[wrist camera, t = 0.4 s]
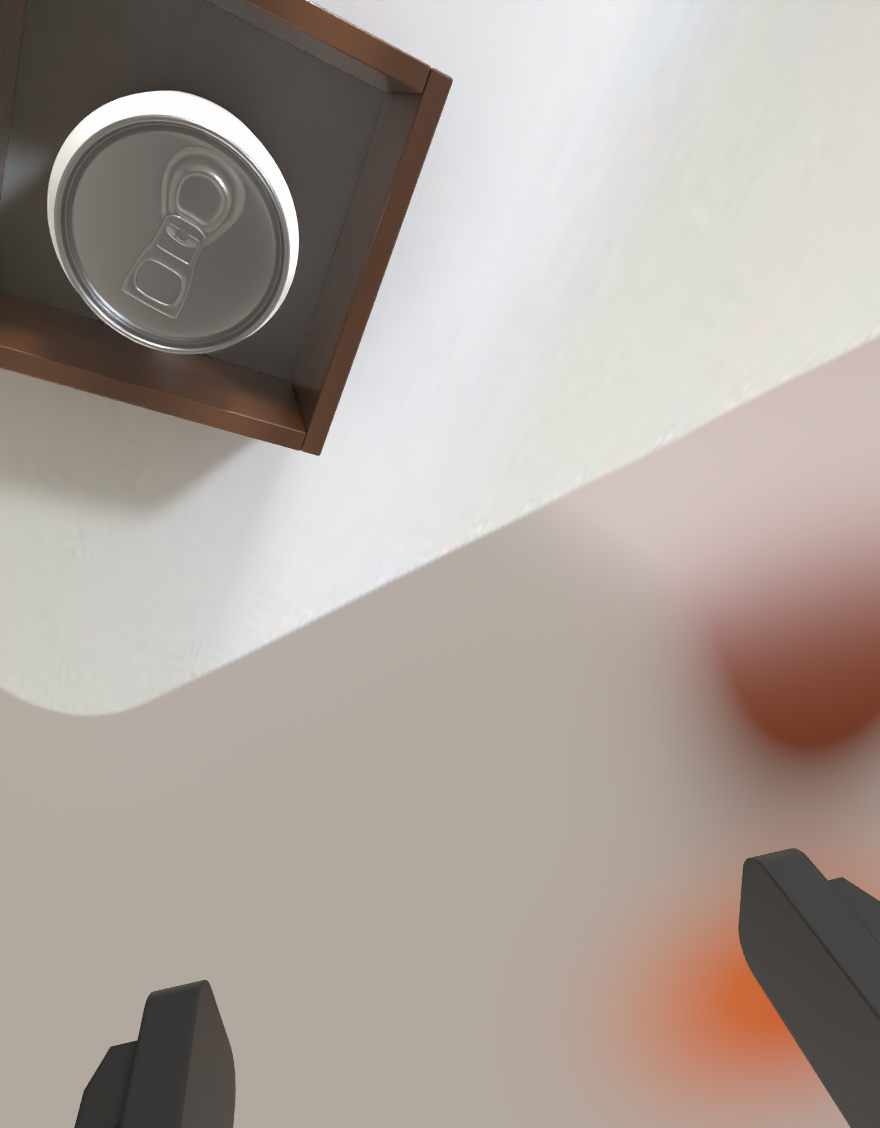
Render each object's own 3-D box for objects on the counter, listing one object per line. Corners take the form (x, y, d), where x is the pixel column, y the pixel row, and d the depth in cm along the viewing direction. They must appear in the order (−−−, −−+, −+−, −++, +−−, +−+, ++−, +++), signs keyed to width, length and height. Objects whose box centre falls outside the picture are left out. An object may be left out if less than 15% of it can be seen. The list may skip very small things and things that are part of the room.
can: (302, 164, 29) (352, 203, 19) (227, 309, 31) (236, 411, 21) (139, 46, 26) (98, 22, 16) (66, 217, 28) (-9, 287, 18)
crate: (-38, 300, 28) (-88, 344, 23) (13, -130, 23) (-41, -189, 18) (303, 403, 34) (320, 457, 29) (411, 79, 28) (454, 78, 23)
